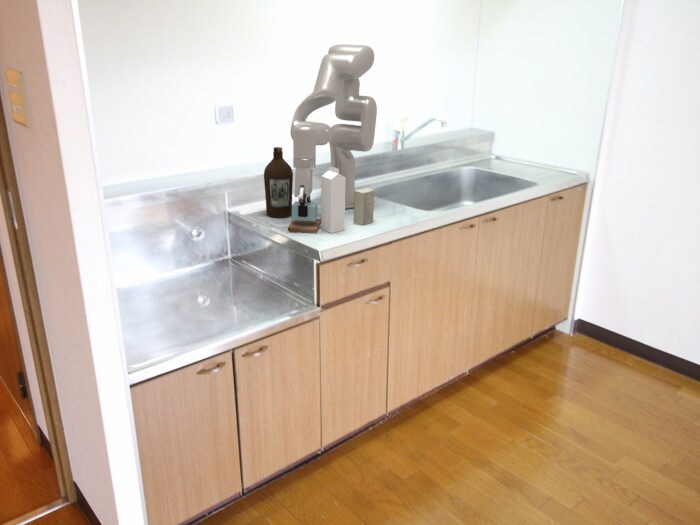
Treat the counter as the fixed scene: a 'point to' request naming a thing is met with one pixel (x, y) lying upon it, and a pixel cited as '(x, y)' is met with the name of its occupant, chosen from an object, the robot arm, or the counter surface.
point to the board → (304, 226)
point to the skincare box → (363, 206)
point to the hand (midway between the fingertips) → (304, 213)
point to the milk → (333, 201)
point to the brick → (311, 211)
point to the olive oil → (278, 186)
